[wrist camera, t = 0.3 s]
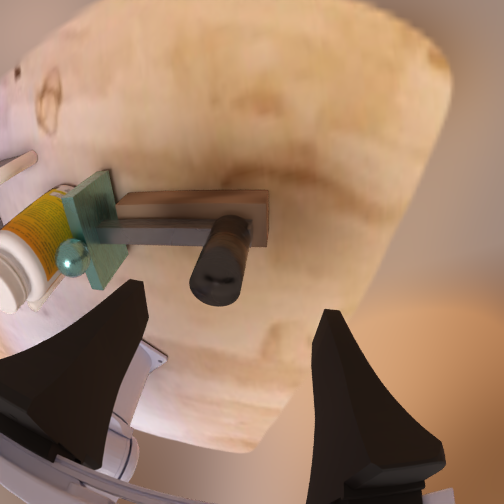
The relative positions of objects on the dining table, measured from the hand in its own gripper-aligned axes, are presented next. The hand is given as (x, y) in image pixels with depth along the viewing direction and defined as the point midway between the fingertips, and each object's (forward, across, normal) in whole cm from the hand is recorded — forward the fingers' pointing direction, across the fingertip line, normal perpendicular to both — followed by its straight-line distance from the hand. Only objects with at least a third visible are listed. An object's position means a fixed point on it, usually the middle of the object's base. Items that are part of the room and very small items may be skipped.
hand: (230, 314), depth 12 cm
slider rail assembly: (+10, +6, +1) cm, 11 cm away
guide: (+10, +4, +1) cm, 11 cm away
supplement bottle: (+10, +15, +2) cm, 18 cm away
